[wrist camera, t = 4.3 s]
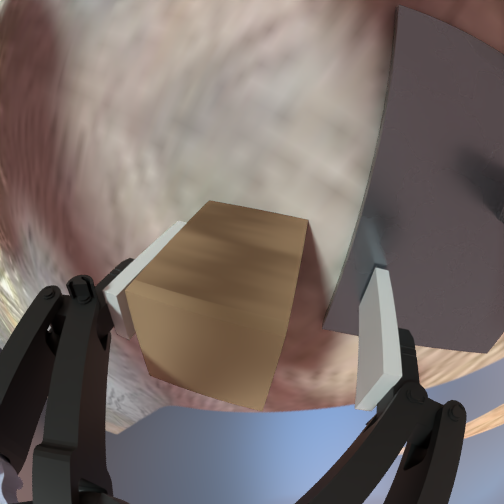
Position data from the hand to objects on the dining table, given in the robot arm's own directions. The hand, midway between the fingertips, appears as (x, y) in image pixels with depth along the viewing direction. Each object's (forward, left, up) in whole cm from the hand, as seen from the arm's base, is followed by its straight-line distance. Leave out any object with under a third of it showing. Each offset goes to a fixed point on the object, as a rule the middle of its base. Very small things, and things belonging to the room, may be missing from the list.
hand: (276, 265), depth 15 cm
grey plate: (+11, +5, -1) cm, 12 cm away
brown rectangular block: (-1, 0, -1) cm, 2 cm away
